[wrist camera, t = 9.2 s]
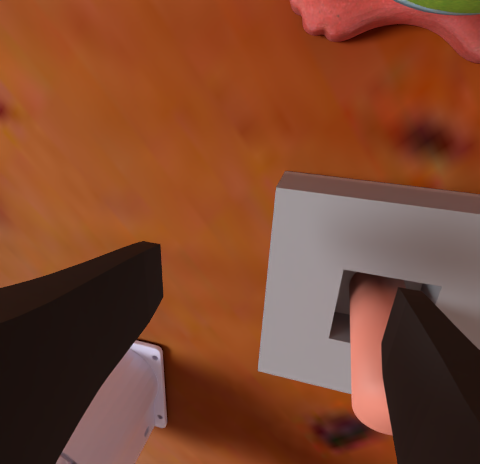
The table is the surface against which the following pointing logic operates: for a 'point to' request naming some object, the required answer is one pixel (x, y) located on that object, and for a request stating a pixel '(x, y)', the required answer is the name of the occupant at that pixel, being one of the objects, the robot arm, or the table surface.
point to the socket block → (360, 265)
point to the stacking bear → (395, 19)
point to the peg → (370, 346)
